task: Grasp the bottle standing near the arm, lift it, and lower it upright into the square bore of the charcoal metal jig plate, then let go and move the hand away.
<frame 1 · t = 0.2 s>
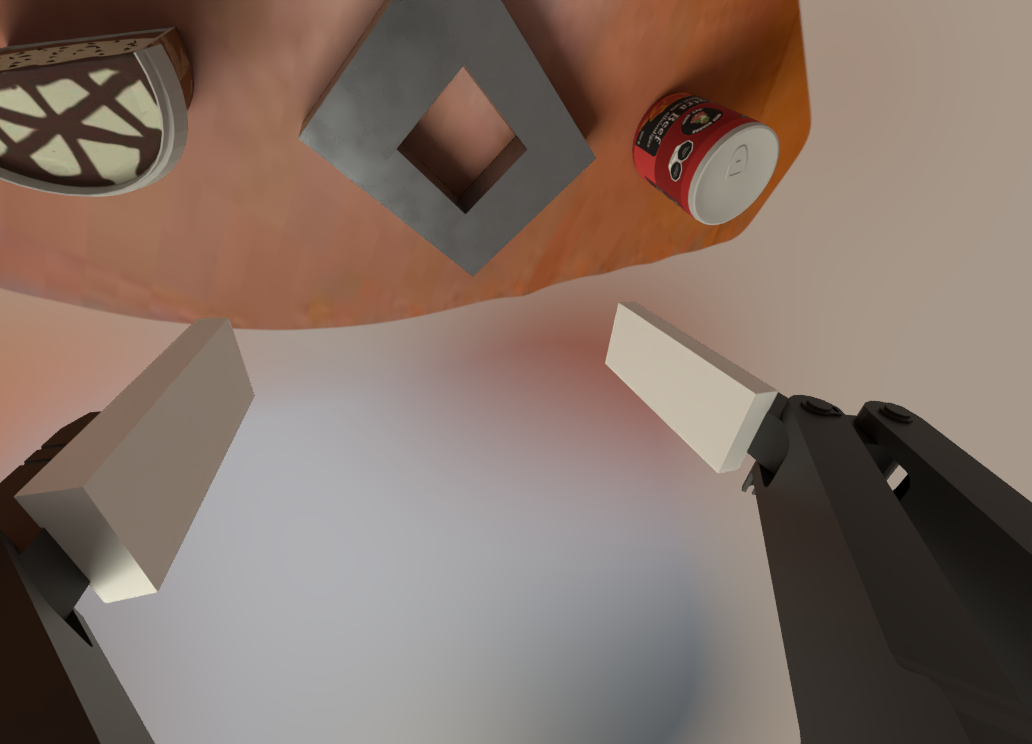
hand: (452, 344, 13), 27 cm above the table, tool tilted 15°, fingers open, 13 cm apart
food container: (136, 95, 26), on the table
jig: (456, 135, 33), on the table
canned food: (663, 137, 38), on the table
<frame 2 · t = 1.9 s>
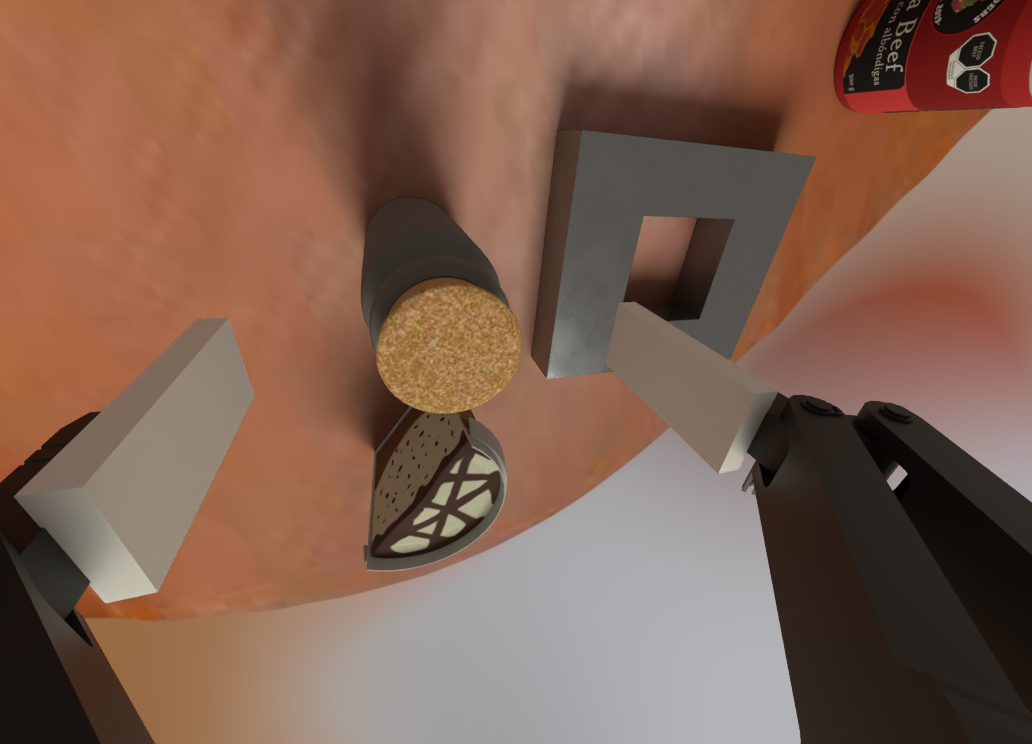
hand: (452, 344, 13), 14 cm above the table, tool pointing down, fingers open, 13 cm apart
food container: (436, 424, 32), on the table
jig: (646, 260, 30), on the table
canned food: (873, 49, 27), on the table
bottle: (413, 244, 24), on the table
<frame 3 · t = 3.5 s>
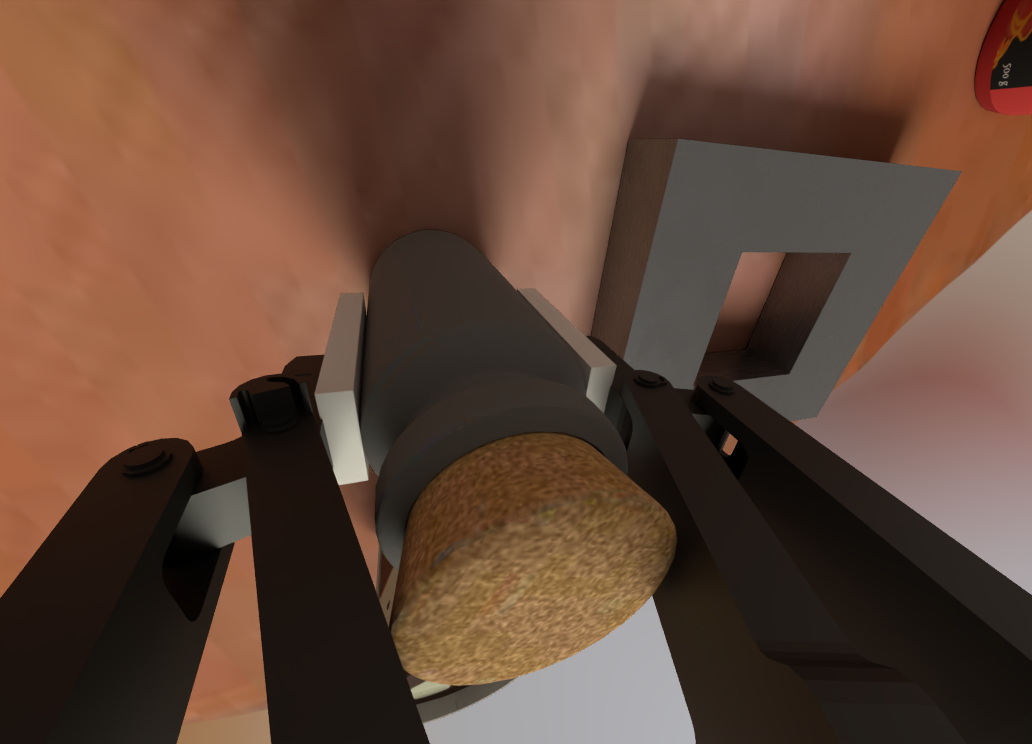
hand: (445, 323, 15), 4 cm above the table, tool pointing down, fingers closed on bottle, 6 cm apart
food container: (456, 499, 26), on the table
jig: (722, 300, 24), on the table
canned food: (1026, 32, 21), on the table
bottle: (433, 290, 18), on the table, touching gripper
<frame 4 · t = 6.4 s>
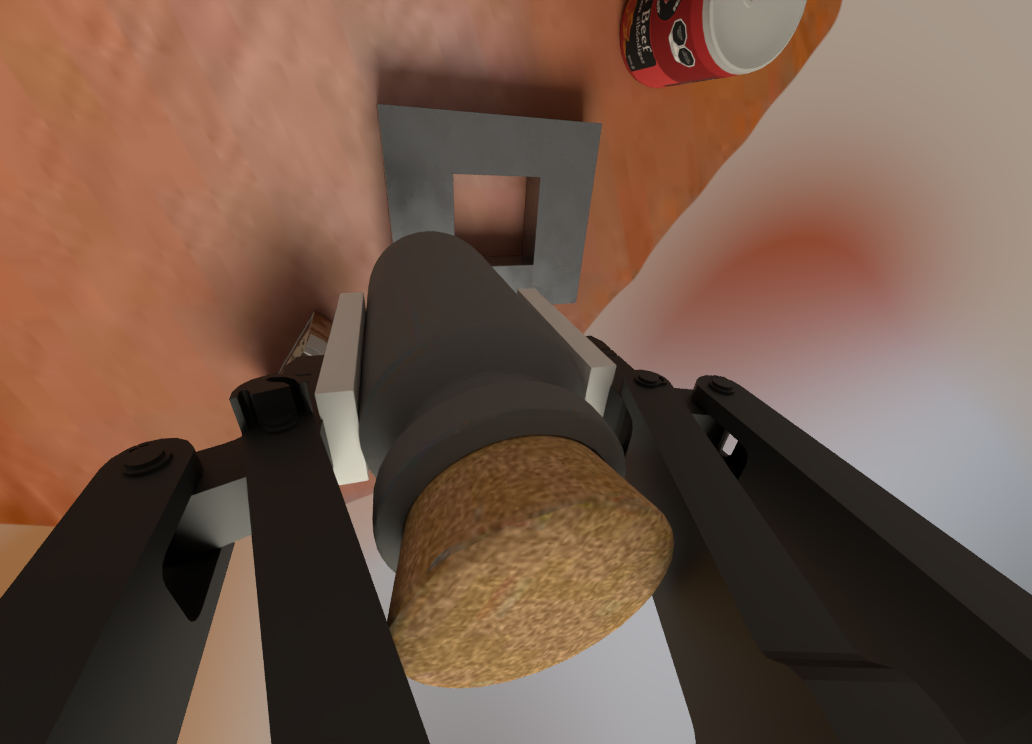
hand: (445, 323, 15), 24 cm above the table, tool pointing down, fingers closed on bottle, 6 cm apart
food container: (324, 360, 39), on the table
jig: (487, 216, 36), on the table
canned food: (655, 34, 33), on the table
bottle: (433, 291, 18), point 20 cm above the table, touching gripper
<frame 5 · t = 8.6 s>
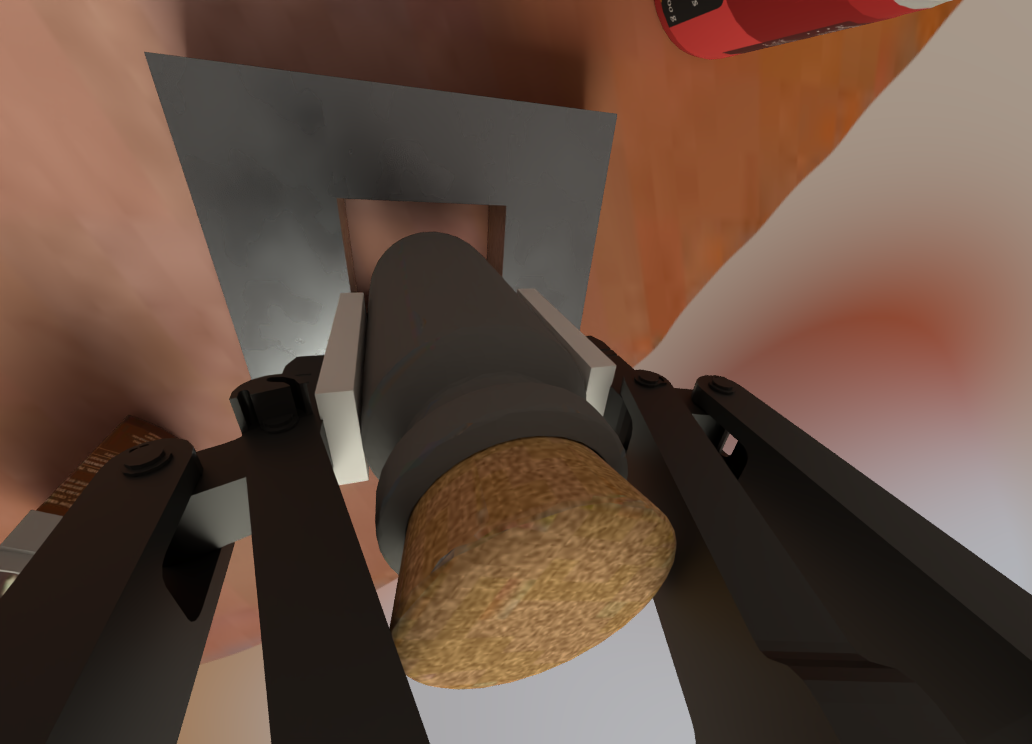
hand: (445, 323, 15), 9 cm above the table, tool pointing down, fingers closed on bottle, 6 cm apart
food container: (163, 483, 24), on the table
jig: (423, 265, 22), on the table
bottle: (434, 292, 18), point 5 cm above the table, touching gripper
when the fingers open (5 cm above the table, at t = 9.7 s): bottle drops 1 cm, resting in jig.
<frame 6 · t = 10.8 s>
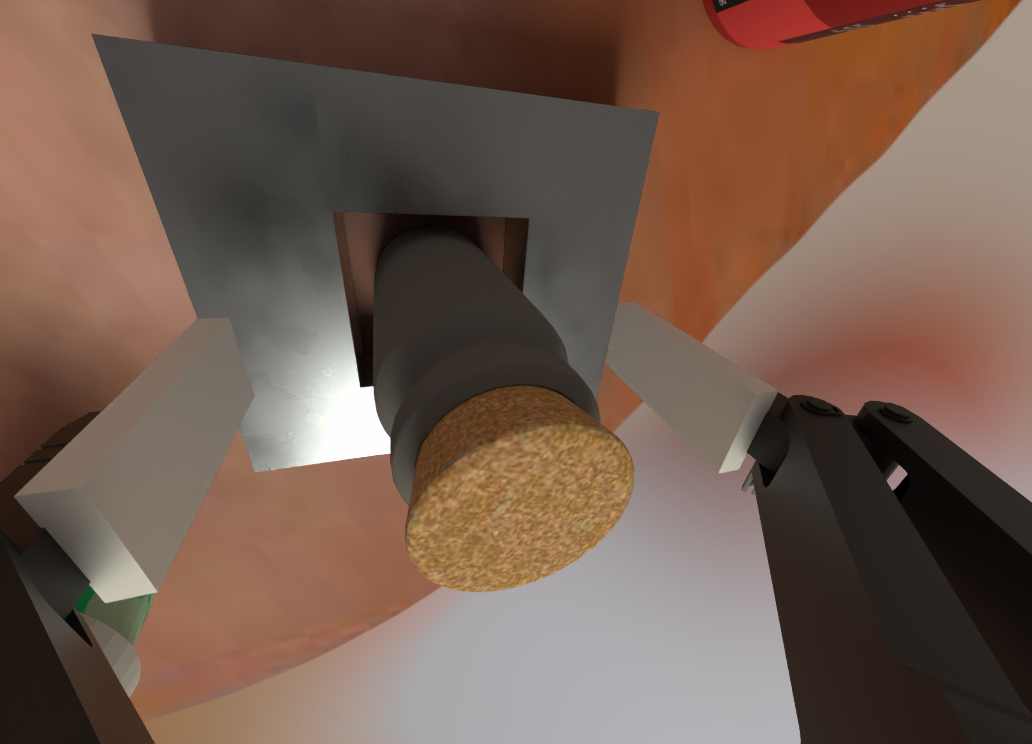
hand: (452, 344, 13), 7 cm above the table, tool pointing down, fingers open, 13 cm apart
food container: (141, 524, 22), on the table
jig: (431, 283, 19), on the table
bottle: (433, 281, 20), resting in jig
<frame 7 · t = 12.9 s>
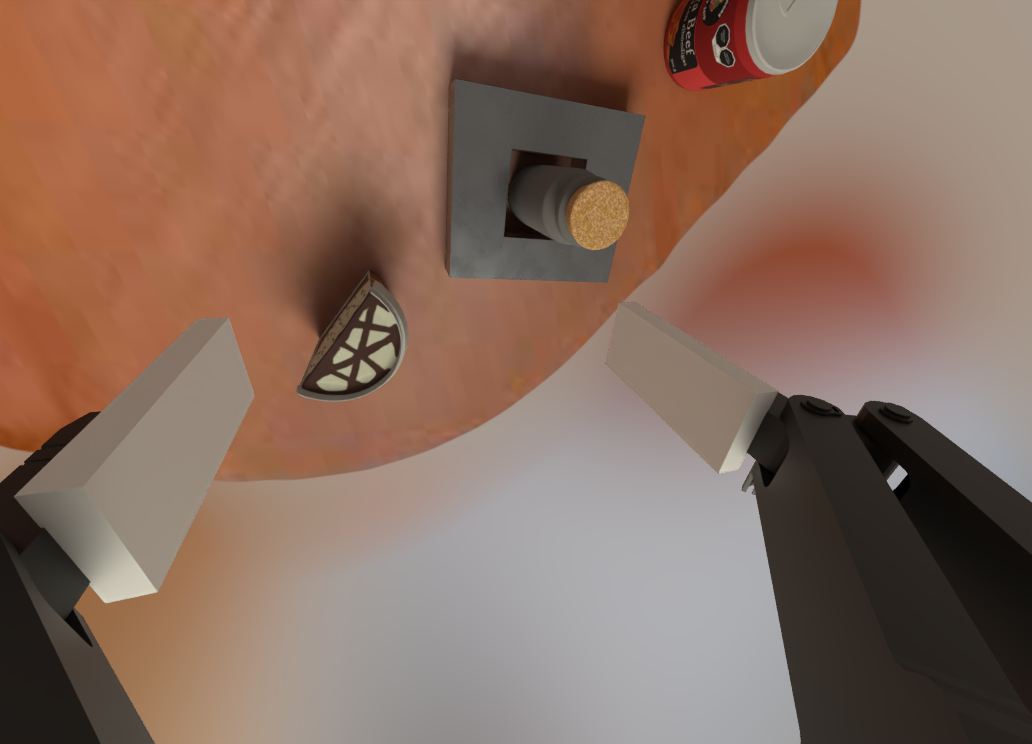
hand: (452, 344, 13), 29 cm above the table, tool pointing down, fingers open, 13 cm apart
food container: (370, 320, 41), on the table
jig: (533, 195, 39), on the table
canned food: (694, 44, 37), on the table
bottle: (533, 195, 40), resting in jig
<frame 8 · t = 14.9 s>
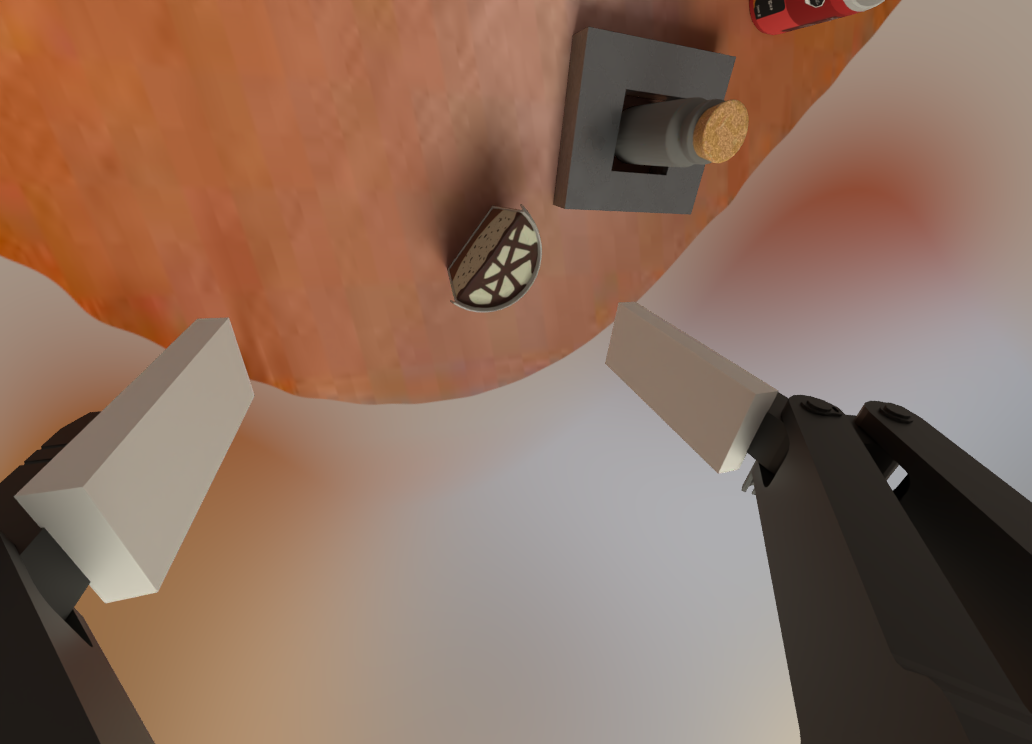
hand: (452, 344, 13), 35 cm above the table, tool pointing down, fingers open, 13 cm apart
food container: (488, 253, 47), on the table
jig: (630, 135, 45), on the table
bottle: (630, 135, 45), resting in jig
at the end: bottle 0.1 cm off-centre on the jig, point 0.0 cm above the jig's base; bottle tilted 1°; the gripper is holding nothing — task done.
